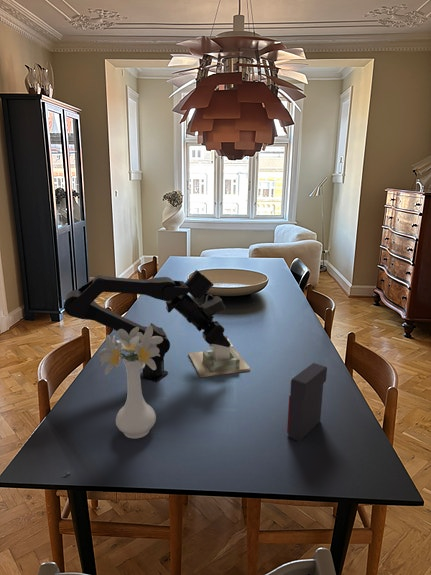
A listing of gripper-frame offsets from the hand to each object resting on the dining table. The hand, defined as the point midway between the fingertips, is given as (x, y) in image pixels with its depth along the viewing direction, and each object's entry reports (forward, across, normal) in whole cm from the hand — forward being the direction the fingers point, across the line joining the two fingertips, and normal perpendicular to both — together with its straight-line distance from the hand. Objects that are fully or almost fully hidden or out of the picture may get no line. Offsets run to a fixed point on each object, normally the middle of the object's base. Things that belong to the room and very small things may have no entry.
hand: (225, 340), depth 129 cm
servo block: (+5, 0, +7) cm, 8 cm away
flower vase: (-15, -26, +28) cm, 41 cm away
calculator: (+12, -37, 0) cm, 39 cm away
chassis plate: (+5, +3, +7) cm, 9 cm away
